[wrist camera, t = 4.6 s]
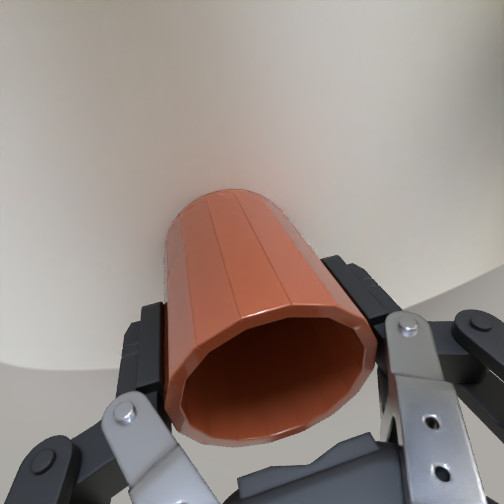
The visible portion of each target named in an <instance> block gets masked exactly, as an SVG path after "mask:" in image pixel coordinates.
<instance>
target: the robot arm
mask: <svg viewBox="0 0 504 504" xmlns="http://www.w3.org/2000/svg"><path fill="white" fill-rule="evenodd" d="M320 260H321V262H322V263H323V264H324V266H325V267H326V268H327V270H328V271H329V272H330V273H331V275H332V276H333V277H334V279H335V280H336V281H337V282H338V284H339V285H340V286H341V288H342V289H343V290H344V292H345V293H346V294H347V295H348V297H349V298H350V299H351V301H352V302H353V303H354V304H355V306H356V307H357V308H358V310H359V311H360V312H361V314H362V315H363V316H364V317H365V319H366V320H367V322H368V324H369V326H370V328H371V330H372V331H373V333H374V335H375V337H376V339H377V343H378V346H377V353H376V359H375V362H376V363H377V365H378V369H377V375H378V389H379V403H380V417H381V428H380V441H375V440H374V438H373V437H372V435H371V433H370V432H368V433H365V434H362V435H359V436H356V437H353V438H350V439H348V440H345V441H342V442H340V443H337V444H336V445H335V446H333V447H332V448H331V449H330V450H328V451H327V452H326V453H324V454H323V455H322V456H320V457H319V458H318V459H316V460H315V461H314V462H312V463H311V464H308V465H296V466H271V467H268V468H265V469H262V470H259V471H256V472H254V473H251V474H248V475H245V476H242V477H239V478H237V481H238V487H239V489H238V490H237V491H235V492H234V493H233V494H232V495H231V496H229V498H228V499H226V500H225V502H224V503H223V504H498V503H497V502H495V501H494V500H492V499H490V498H489V497H487V496H486V495H485V492H484V488H483V485H482V481H481V478H480V475H479V471H478V467H477V464H476V460H475V457H474V453H473V450H472V446H471V443H470V439H469V436H468V432H467V429H466V425H465V422H464V418H463V414H462V411H461V407H460V404H459V401H458V397H459V398H460V399H461V400H462V401H463V402H464V403H465V404H466V405H467V406H468V408H469V409H471V411H472V412H473V413H474V414H475V415H476V416H477V417H478V418H479V419H480V420H481V421H482V422H483V423H484V424H485V425H486V426H487V427H488V428H489V429H490V430H491V431H492V432H493V433H494V434H495V435H496V436H497V437H498V438H499V439H500V440H501V441H502V442H503V443H504V383H503V382H502V381H501V380H500V379H502V380H503V381H504V323H503V322H501V320H499V319H497V318H496V317H495V316H493V315H491V314H489V313H486V312H483V311H479V310H463V311H461V312H459V313H458V314H457V315H456V317H455V320H454V321H442V322H441V321H440V322H439V321H436V322H431V321H426V320H425V319H424V318H423V317H421V316H420V315H418V314H415V313H412V312H409V311H403V310H402V309H401V308H400V307H399V306H398V305H397V304H396V303H395V302H394V301H393V300H392V298H391V297H390V296H389V295H388V294H387V293H386V292H385V291H384V290H383V289H382V288H381V287H380V286H378V284H377V283H376V282H375V280H374V279H372V278H371V276H370V275H369V274H368V273H367V272H366V271H365V270H364V269H363V268H361V267H359V266H357V265H355V264H353V263H351V264H348V265H347V264H346V263H345V262H344V261H343V260H342V259H341V257H340V256H338V255H335V256H331V257H327V258H323V259H320ZM490 370H491V371H492V372H493V373H495V374H496V375H497V376H498V377H499V378H500V379H499V378H498V377H496V376H495V375H494V374H493V373H492V372H491V371H490ZM457 396H458V397H457ZM171 423H172V422H171V420H170V418H169V416H168V415H167V413H166V411H165V409H164V304H163V303H162V302H157V303H154V304H150V305H146V306H143V307H142V310H141V321H137V322H134V323H131V325H130V326H129V328H128V330H127V331H126V333H125V335H124V342H123V349H122V359H121V364H120V371H119V378H118V385H117V393H116V398H115V400H113V401H112V402H111V404H109V406H108V407H107V408H106V410H105V412H104V414H103V417H102V419H101V420H100V421H99V422H98V423H97V424H95V425H94V426H92V427H91V428H89V429H87V430H86V431H84V432H83V433H81V434H79V435H78V436H76V437H75V438H73V439H71V440H70V439H69V438H67V437H66V436H63V435H58V436H53V437H50V438H48V439H45V440H44V441H43V442H41V443H39V444H38V445H37V446H36V447H34V448H33V449H32V450H31V451H30V453H29V454H28V455H27V456H26V457H25V459H24V460H23V462H22V464H21V465H20V467H19V470H18V472H17V475H16V477H15V479H14V482H13V484H12V487H11V489H10V491H9V493H8V496H7V498H6V501H5V503H4V504H110V501H111V498H112V497H113V496H115V495H116V494H117V493H119V492H120V491H121V490H123V489H124V488H126V487H127V486H128V485H129V490H128V493H129V496H130V499H131V501H132V504H220V502H219V501H218V500H217V498H216V497H215V495H214V494H213V492H212V491H211V489H210V488H209V486H208V485H207V483H206V482H205V481H204V479H203V478H202V476H201V475H200V473H199V472H198V471H197V469H196V467H195V466H194V465H193V463H192V462H191V460H190V459H189V457H188V456H187V454H186V453H185V451H184V450H183V449H182V447H181V446H180V444H178V442H177V441H176V439H175V438H174V437H173V435H172V428H171Z"/></svg>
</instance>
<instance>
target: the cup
mask: <svg viewBox="0 0 504 504" xmlns="http://www.w3.org/2000/svg"><path fill="white" fill-rule="evenodd" d="M377 346H378V343H377V339H376V337H375V335H374V333H373V331H372V330H371V328H370V326H369V324H368V322H367V320H366V319H365V317H364V316H363V315H362V314H361V312H360V311H359V310H358V308H357V307H356V306H355V304H354V303H353V302H352V301H351V299H350V298H349V297H348V295H347V294H346V293H345V292H344V290H343V289H342V288H341V286H340V285H339V284H338V282H337V281H336V280H335V279H334V277H333V276H332V275H331V273H330V272H329V271H328V270H327V268H326V267H325V266H324V264H323V263H322V262H321V260H320V259H319V258H318V257H317V255H316V254H315V253H314V251H313V250H312V249H311V248H310V246H309V245H308V244H307V242H306V241H305V240H304V238H303V237H302V236H301V235H300V233H299V232H298V231H297V229H296V228H295V227H294V226H293V224H292V223H291V222H290V220H289V219H288V218H287V217H286V215H285V214H284V213H283V211H282V210H281V209H280V208H278V207H277V206H276V205H275V204H274V203H273V202H271V201H270V200H269V199H267V198H265V197H264V196H262V195H259V194H257V193H254V192H250V191H246V190H223V191H217V192H214V193H210V194H207V195H205V196H203V197H201V198H199V199H197V200H195V201H194V202H192V203H191V204H189V205H188V206H187V207H186V208H184V209H183V210H182V211H181V212H180V214H179V215H178V216H177V217H176V219H175V220H174V221H173V223H172V225H171V227H170V228H169V231H168V234H167V237H166V242H165V254H164V409H165V411H166V413H167V415H168V416H169V418H170V420H171V422H172V423H173V425H174V426H175V428H176V430H177V431H178V432H179V433H181V434H183V435H185V436H187V437H189V438H191V439H193V440H195V441H197V442H199V443H201V444H205V445H215V446H224V447H243V446H250V445H258V444H265V443H269V442H273V441H276V440H279V439H282V438H285V437H288V436H291V435H294V434H297V433H300V432H302V431H304V430H306V429H308V428H310V427H311V426H313V425H315V424H317V423H319V422H320V421H322V420H324V419H326V418H328V417H329V416H331V415H332V414H334V413H335V412H336V411H337V410H339V409H340V408H341V407H342V406H343V405H345V404H346V403H347V402H348V401H349V400H350V399H351V398H353V397H354V396H355V395H356V394H357V393H358V392H359V390H360V389H361V387H362V386H363V384H364V383H365V381H366V380H367V378H368V377H369V375H370V374H371V372H372V370H373V368H374V365H375V359H376V353H377Z"/></svg>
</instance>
